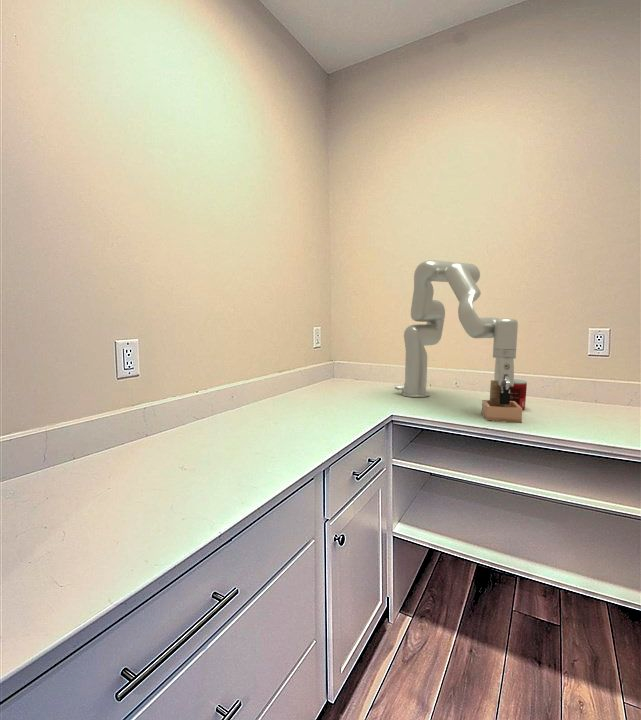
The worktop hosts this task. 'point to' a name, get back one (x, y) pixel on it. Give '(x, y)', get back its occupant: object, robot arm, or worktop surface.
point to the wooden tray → (502, 412)
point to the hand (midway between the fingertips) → (501, 401)
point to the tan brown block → (495, 394)
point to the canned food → (519, 392)
